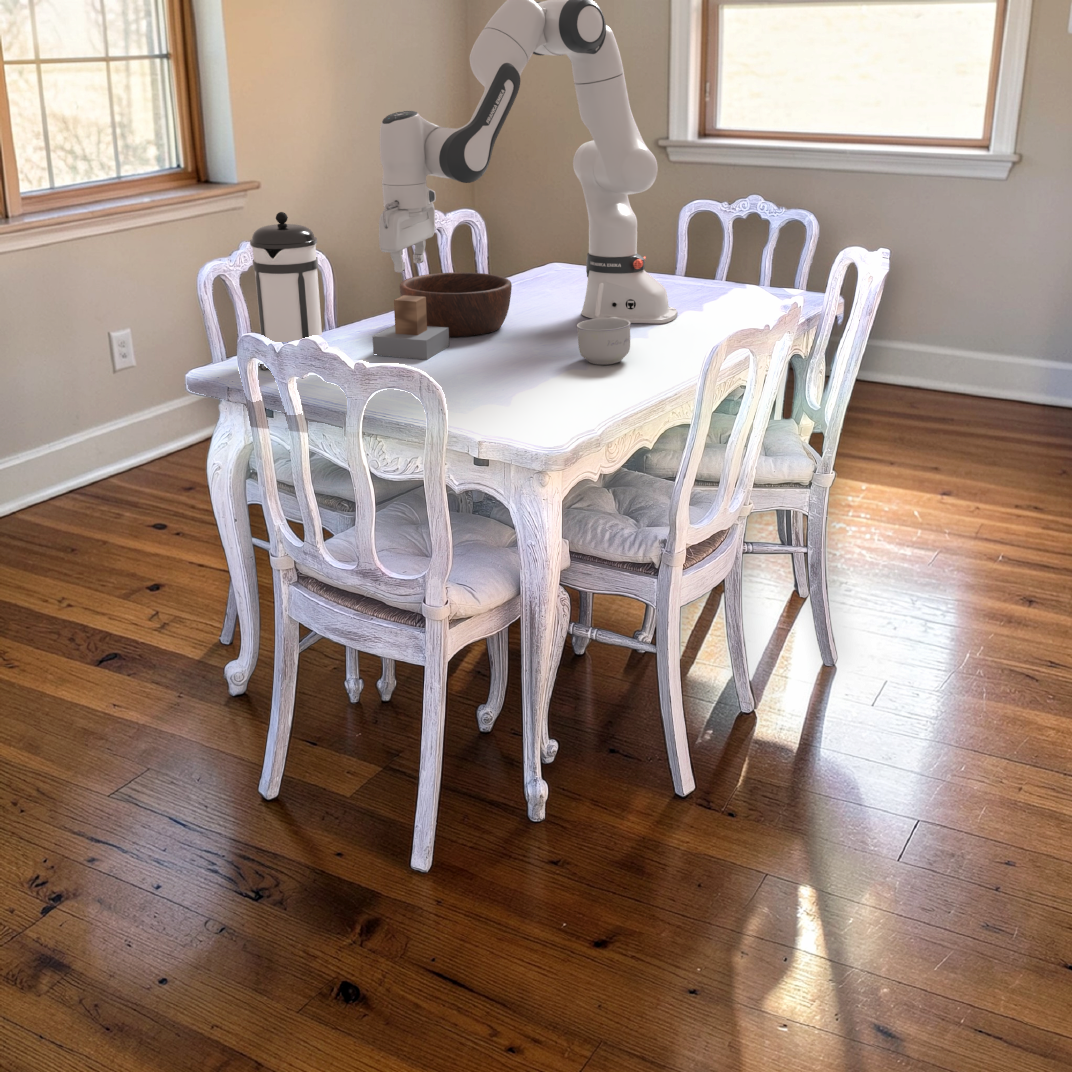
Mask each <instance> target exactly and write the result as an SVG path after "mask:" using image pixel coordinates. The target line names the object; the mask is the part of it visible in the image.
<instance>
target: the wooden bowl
mask: <svg viewBox="0 0 1072 1072" xmlns="http://www.w3.org/2000/svg"><path fill="white" fill-rule="evenodd" d="M399 284H400V285H399V293H400V297H401V296H403V295H406V296H422V297H426V314H427V326H434V327H448V328H449V338H450V337H451V338H454V337H455V338H456V337H460V338H461V337H472V336H481V335H485V334H490V333H493V332H495V331H497V330H499V329H500V328H501V327H502V325H503V323H504V322H505V320H506V318H507V316H508V313H509V308H510V302H511V299H512V298H511V296H512V287H513V286H512V285H513V284H512V282H511V280H510V279H508V278H506V277H504V276H501V275H496V274H491V273H490V274H489V273H481V272H466V271H465V272H462V271H461V272H458V271H457V272H455V271H454V272H439V273H437V272H436V273H428V274H423V275H422V274H421V275H416V276H412V277H409V278H406V279H404V280H402V281H401V282H400V283H399Z"/></svg>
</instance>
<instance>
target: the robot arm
mask: <svg viewBox="0 0 1072 1072" xmlns="http://www.w3.org/2000/svg"><path fill="white" fill-rule="evenodd" d="M603 13H604V12H602V9H601V7H600V6H599V5H598V3H597V2H596V1H594V0H543V1H536V0H505V1H504V3H502V5H501V6H500V7H499V8H498V9H497V10H496V11H495V13H494V14H493V15H492V16H491V17H490V19H489V20H488V22H486V24H485V26H484V28H483V29H482V30H481V32H480V33H479V35H478V37H477V38H476V39H475V42H474V43H473V46H472V48H471V51H470V54H469V64H470V65H469V66H470V69H471V72H472V74H473V76H474V77H475V78H476V79H477V81H478V82H479V84H481V85H482V86H483V87H484V91H483V94H482V95H481V98H480V99H479V101H478V104H477V105H476V108H475V110H474V111H473V113H472V116H471V118H470V120H469V121H468V122H467V123H465V124H464V125H462V126H460V127H458V128H455V127H452V128H451V127H446V126H440V125H438V124H435V123H433V122H431V121H428V120H427V119H425V118H424V117H422V116H421V115H420V113H419V112H417V111H415V110H403V111H397V112H393V113H390V114H388V115H386V116H385V117H384V118H383V119H382V121H381V123H380V127H379V128H380V129H379V156H380V157H379V158H380V164H381V166H382V178H381V179H382V180H381V187H382V202H383V207H384V209H383V211H382V213H381V214H380V215H379V219H378V247H379V249H380V251H381V252H382V253H390V256H389V257H390V258H391V260H392V262H393V267H394V268H393V269H394V272H396V273H403V272H405V271H406V262H404V260H403V254H404V253H403V252H404V251H403V250H405V249H408V248H409V247H411V246H414V253H413V254H412V258H413V259H412V263H414V264H422V263H424V262H425V258H424V254H425V249H426V244H427V242H426V241H427V240H429V239H431V238H432V237H434V235H435V230H436V211H435V204H434V202H436V200H437V195H436V193H437V192H436V191H435V190H433V189H432V188H430V187H428V186H427V177H428V176H433V177H438V178H442V179H451V180H453V181H457V182H460V183H463V184H469V183H474V182H477V181H478V180H479V179H481V178H482V177H483V176H484V174H485V173H486V171H487V169H488V168H489V165H490V162H491V158H492V153H493V149H494V146H495V144H496V141H497V140H498V139H497V138H498V136H499V134H500V132H501V130H502V128H503V126H504V125H505V124H504V123H505V122H506V120H507V118H508V116H509V114H510V111H511V109H512V107H513V105H514V103H515V100H516V99H517V95H518V94H519V90H520V87H521V76H522V73H523V71H524V69H525V68H526V66H527V64H528V63H529V61H530V59H531V58H532V57H533V56H532V55H535V56H553V57H555V56H565V55H566V56H567V58H568V59H569V61H570V63H571V69H572V71H571V72H572V77H573V84H574V89H575V95H576V100H577V106H578V112H579V115H580V116H579V117H580V120H581V122H582V123H583V124H584V126H585V127H586V128H587V129H588V131H589V134H590V135H591V137H592V140H590V141H586V142H583V143H582V144H581V145H580V146H579V147H578V148H577V149H576V151H575V154H574V155H573V160H572V167H573V171H574V174H575V176H576V177H577V180H578V181H579V183H580V185H581V188H582V192H583V196H584V200H585V206H586V211H587V219H588V252H587V254H586V261H585V264H586V265H585V267H586V268H585V269H586V270H585V271H586V277H587V283H586V291H585V297H584V301H583V306H582V309H581V313H580V314H581V315H582V316H583V317H586V318H589V319H591V320H592V319H598V318H611V317H618V318H619V319H625V320H628V321H630V323H631V324H666V323H669V322H672V321H673V320H675V319H676V318H677V317H678V310H677V308H676V307H672V306H669V305H670V304H669V297H668V293H667V289H666V287H664V285H662V284H661V282H659V281H658V280H656V278H655V277H653V276H651V274H649V273H648V272H647V271H646V270H645V269H646V268H645V265H646V262H647V261H646V259H647V258H646V255H645V256H642V255H641V254H639V253H638V251H637V250H638V247H637V246H638V243H637V242H638V218H637V215H636V214H635V212H634V210H633V208H632V207H631V203H630V199H629V195H635V194H639V193H640V194H641V193H643V192H646V191H647V190H649V189H650V188H651V187H652V186H653V185H654V183H655V182H656V179H657V177H658V172H659V170H658V169H659V168H658V161H657V158H656V157H655V154H654V153H653V152H652V151H651V150H650V149H649V147H648V146H647V144H646V143H645V141H644V139H643V137H642V134H641V133H640V130H639V128H638V127H639V126H638V125H637V122H636V120H635V118H634V116H633V112H632V110H631V109H632V108H631V105H630V99H629V93H628V88H627V82H626V78H625V70H624V65H623V61H622V56H621V52H620V49H619V45H618V43H617V39H616V37H615V35H614V31H613V30H612V29H611V27H610V26H608V25H607V24H606V20H605V19H606V18H605V15H604V14H603Z"/></svg>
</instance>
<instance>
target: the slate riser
mask: <svg viewBox="0 0 1072 1072" xmlns="http://www.w3.org/2000/svg"><path fill="white" fill-rule="evenodd" d="M372 346H373V347H372V349H373V355H374V354H377V355H382V356H381V357H387V356H392V357H391V358H400V357H401V358H400V359H402V358H403V359H412V358H413V360H424V361H425V360H426V361H428V360H430V359H431V358H432V357H434V356H436V355H438V354H439V353H441V352H442V351H444V350H445V349H447V348H449V347H450V337H449V328H448V327H434V326H427V330H426V331H425V332H423V333H421V334H419V335H406V334H395V324H394V325H391V326H390V327H388V328H386V329H384V330H382V331H380V332H377V334H374V335H372Z"/></svg>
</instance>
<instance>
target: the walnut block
mask: <svg viewBox="0 0 1072 1072" xmlns="http://www.w3.org/2000/svg"><path fill="white" fill-rule="evenodd" d="M393 308H394V309H393V311H394V312H393V313H394V314H393V315H394V325H395V334H406V335H419V334H421V333H423V332H425V331H426V330H427V314H426V297H422V296H406V295H403V296H401V295H400V296H399V297H397V298H396V299H393Z"/></svg>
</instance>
